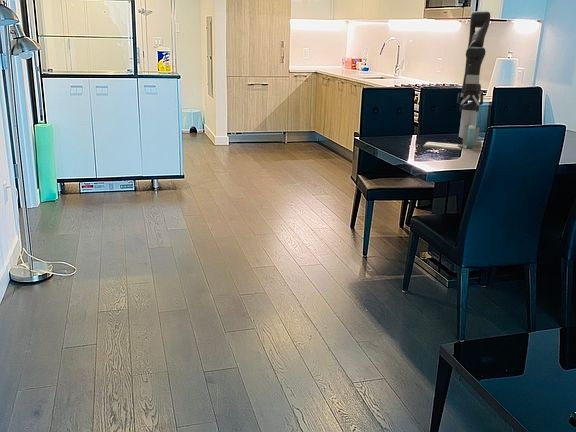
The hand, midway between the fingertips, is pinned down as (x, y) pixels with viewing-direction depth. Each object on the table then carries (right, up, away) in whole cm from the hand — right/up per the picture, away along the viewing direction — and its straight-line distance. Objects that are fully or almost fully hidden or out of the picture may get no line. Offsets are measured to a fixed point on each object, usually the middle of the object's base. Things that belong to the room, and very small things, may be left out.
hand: (468, 111), depth 328 cm
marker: (-4, -23, -14) cm, 27 cm away
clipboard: (-18, -22, -11) cm, 31 cm away
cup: (+1, -19, 0) cm, 19 cm away
